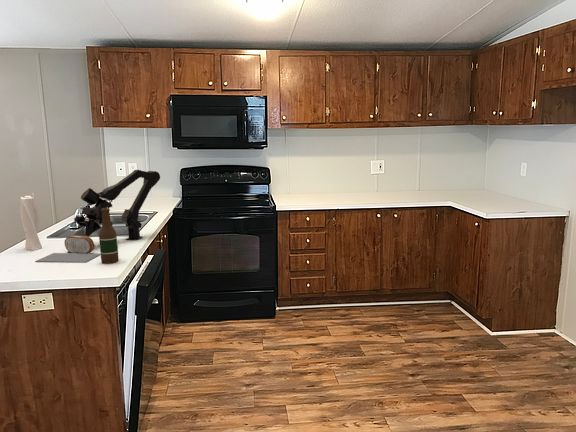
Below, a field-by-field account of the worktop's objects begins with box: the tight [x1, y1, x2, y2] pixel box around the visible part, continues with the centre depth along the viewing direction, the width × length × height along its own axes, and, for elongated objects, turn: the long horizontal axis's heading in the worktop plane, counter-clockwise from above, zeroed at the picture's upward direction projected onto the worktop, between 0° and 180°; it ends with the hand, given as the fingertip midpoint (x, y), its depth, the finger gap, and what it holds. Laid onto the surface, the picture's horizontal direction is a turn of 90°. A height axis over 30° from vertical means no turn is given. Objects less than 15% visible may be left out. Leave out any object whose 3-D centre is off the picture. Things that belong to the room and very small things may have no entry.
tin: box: [64, 234, 95, 253], centre depth 224 cm, size 15×3×8 cm, turn 75°
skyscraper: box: [20, 192, 43, 251], centre depth 232 cm, size 8×8×28 cm
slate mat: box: [35, 252, 101, 264], centre depth 216 cm, size 14×24×1 cm, turn 84°
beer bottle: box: [98, 208, 120, 265], centre depth 207 cm, size 8×8×24 cm
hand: (86, 236), depth 229 cm, fingers closed
